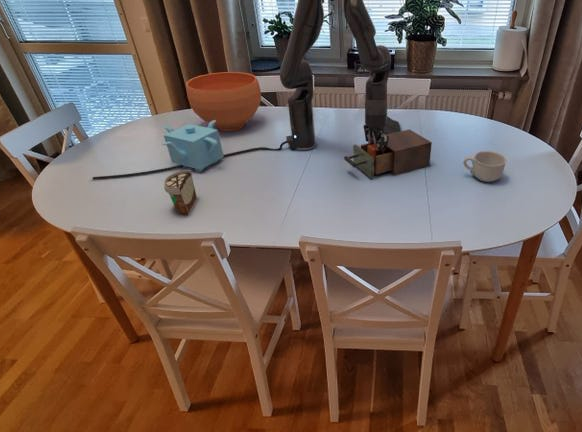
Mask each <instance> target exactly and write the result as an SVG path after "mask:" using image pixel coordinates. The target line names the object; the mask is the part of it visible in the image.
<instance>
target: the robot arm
mask: <svg viewBox="0 0 582 432" xmlns="http://www.w3.org/2000/svg"><path fill="white" fill-rule="evenodd" d="M296 4H297V5H296V8H295V12H294V17H293V19H292V20H293V21H292V25H291V30H290V35H289V39H288V43H287V47H286V51H285V53H284V57H283V59H282V62H281V64H280V69H279V79H280V82H281V83H280V84H281V85H282V86H283V87H284V88H285V89H286V90H294V92H293V93H291V94H290V96H288V98H287V105H288V114H289V124H290V135H286V136H285V138H286V140H285V141H283V142H281V143H280V145H279V147H278V148H270V147H267V146H266V147H265V146H264V147H263V146H261V147H253V148H248V149H242V150H238V151H233V152H229V153H225V154H223V155H224V157H223V158H225V157H230V156H233V155H234V156H235V155H240V154H244V153H248V152H252V151H253V152H254V151H260V150H263V151H264V150H265V151H275V152H276V151H277V152H278V151H280V150H282V148H283V146H284V145H286V144H288V147H292V148H293V151H311V150H312V149H315V148H316V146H317V142H316V141H317V140H316V133H315V132H316V131H315V119H314V108H313V106H314V105H313V99H314V75H313V69H312V66H311V65H310V63H309V62H308V61H307V60H305V59H304V57H305V56H306V54H307V53H308V52H309V51H310V50H311V49H312V47H313V46H314V45H315V44H316V42H317V41H318V40H319V37H320V34H321V31H322V27H323V24H324V21H325V10H324V5H323V0H297V3H296ZM342 9H343V15H344V19H345V21H346V24H347V26H348V29H349V31H350V33H351V34H352V37H353V38H354V41H355V45H356V50H357V54H358V58H359V61H360V63H361V65H362V67H363V68H364V70H366V72H368V73H369V77H368V78H367V80H366V81H365V101H364V125H363V130H364V131H363V132H364V138H365V142H367V143H368V145H372V144H375V145H376V156H378V155H382V151H383V150H386V149H387V145H388V140H389V136H385V134H384V126H385V125H386V124H387V116H388V81H389V77H390V71H391V65H392V56H391V52H390V49H388V48H387V46H385V45H383V44H379V45H377V42H376V40H375V36H376V35H377V30H376V27H375V25H374V22H373V20H372V18H371V15H370V14H369V11H368V9H367V7H366V4H365V2H364V0H342ZM378 140H380V141H378ZM377 141H378V142H377ZM378 144H380V145H379V146H378ZM183 166H184V165H180V164H177V165H174V166H169V167H163V168H158V169H153V170H147V171H146V170H145V171H142V172H141V171H139V172H132V173H124V174H123V173H121V174H114V175H101V176H100V175H99V176H92V180H104V179H105V180H106V179H116V178H127V177H135V176H142V175H149V174H154V173H160V172H165V171H171V170H176V169H180V168H181V167H183Z"/></svg>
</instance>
